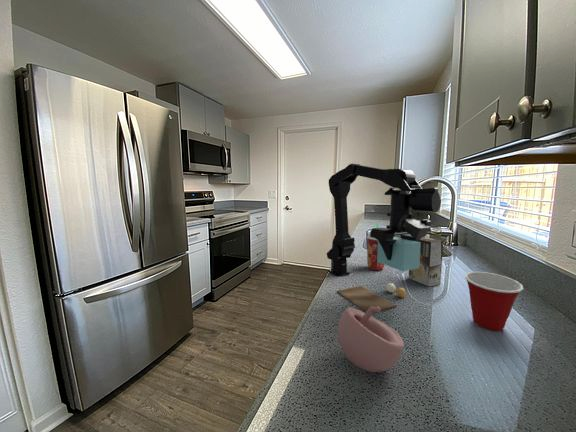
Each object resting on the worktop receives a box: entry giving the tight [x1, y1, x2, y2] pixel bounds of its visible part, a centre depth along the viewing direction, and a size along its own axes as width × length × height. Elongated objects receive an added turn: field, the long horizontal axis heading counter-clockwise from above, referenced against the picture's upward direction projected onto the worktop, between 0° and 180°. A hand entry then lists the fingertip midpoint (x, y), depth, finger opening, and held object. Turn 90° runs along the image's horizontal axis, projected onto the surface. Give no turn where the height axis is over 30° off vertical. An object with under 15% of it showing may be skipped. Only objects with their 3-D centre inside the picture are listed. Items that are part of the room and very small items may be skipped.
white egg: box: [385, 282, 397, 293], centre depth 77 cm, size 3×3×3 cm
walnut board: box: [336, 285, 397, 313], centre depth 72 cm, size 15×10×1 cm, turn 24°
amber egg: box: [395, 287, 407, 298], centre depth 74 cm, size 3×3×3 cm
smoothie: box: [366, 222, 385, 271], centre depth 100 cm, size 8×8×20 cm
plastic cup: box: [464, 271, 524, 332], centre depth 58 cm, size 11×11×12 cm
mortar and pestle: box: [337, 306, 405, 373], centre depth 45 cm, size 12×12×12 cm
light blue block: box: [377, 236, 421, 272], centre depth 74 cm, size 10×7×8 cm
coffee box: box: [408, 236, 444, 287], centre depth 86 cm, size 9×6×16 cm
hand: (397, 258), depth 74 cm, fingers closed on light blue block, 7 cm apart
